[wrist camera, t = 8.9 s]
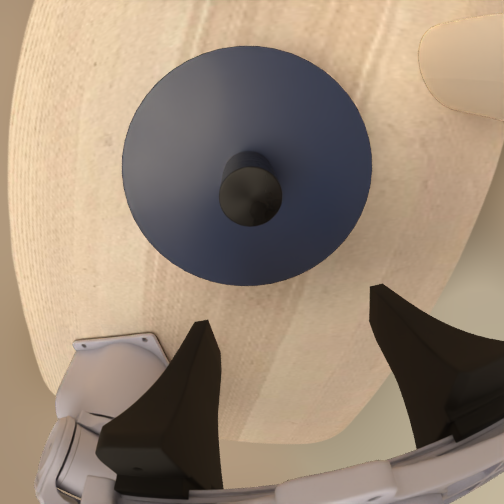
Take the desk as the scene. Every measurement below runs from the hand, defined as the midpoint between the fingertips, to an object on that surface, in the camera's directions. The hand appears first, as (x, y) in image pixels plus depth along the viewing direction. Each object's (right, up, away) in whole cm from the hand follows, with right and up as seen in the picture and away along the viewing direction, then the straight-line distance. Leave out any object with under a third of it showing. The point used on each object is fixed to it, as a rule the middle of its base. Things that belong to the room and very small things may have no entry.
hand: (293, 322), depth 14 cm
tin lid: (-2, +7, +2) cm, 7 cm away
